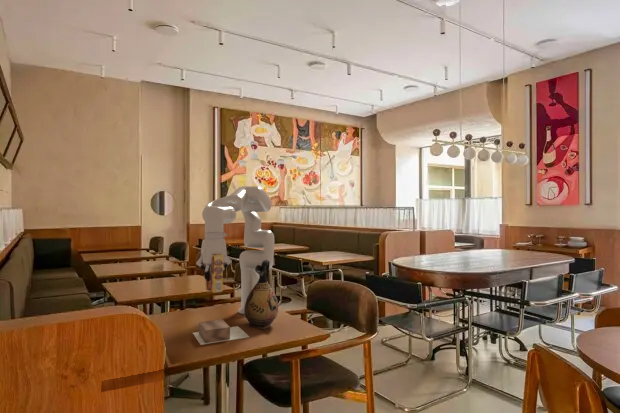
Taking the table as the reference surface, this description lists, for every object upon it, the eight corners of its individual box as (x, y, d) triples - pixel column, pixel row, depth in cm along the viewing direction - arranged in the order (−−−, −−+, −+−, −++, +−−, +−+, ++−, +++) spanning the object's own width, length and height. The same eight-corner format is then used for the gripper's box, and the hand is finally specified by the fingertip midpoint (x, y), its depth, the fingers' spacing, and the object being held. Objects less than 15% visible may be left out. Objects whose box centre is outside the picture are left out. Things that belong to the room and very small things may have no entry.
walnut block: (222, 330, 172) (222, 319, 172) (230, 339, 161) (230, 326, 161) (198, 334, 167) (198, 322, 167) (205, 343, 157) (205, 330, 157)
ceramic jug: (272, 332, 173) (272, 263, 172) (239, 330, 176) (239, 262, 175) (283, 321, 189) (283, 258, 189) (252, 319, 192) (252, 257, 192)
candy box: (223, 291, 162) (223, 254, 162) (213, 293, 160) (213, 255, 160) (214, 287, 170) (214, 252, 169) (205, 289, 167) (204, 253, 167)
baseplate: (238, 328, 178) (238, 326, 178) (249, 339, 164) (249, 336, 164) (192, 335, 169) (192, 332, 169) (200, 347, 155) (200, 344, 155)
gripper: (231, 235, 172) (231, 277, 172) (191, 236, 164) (191, 280, 164) (236, 236, 165) (236, 280, 165) (195, 237, 157) (194, 283, 157)
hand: (214, 279), depth 165 cm, fingers closed on candy box, 4 cm apart
